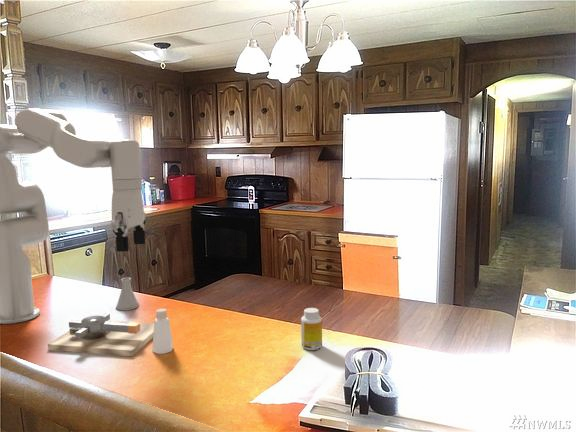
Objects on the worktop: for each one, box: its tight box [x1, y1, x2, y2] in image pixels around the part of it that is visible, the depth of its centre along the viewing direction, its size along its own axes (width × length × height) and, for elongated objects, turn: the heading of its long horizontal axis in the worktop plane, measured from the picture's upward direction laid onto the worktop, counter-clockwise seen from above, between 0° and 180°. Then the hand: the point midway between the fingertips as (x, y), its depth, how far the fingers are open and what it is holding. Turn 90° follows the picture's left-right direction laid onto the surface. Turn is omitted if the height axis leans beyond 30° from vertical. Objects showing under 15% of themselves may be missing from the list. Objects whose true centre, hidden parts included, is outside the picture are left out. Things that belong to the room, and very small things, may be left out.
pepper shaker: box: [152, 308, 174, 355], centre depth 118 cm, size 5×5×11 cm
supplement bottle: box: [300, 307, 323, 351], centre depth 120 cm, size 6×6×10 cm
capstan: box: [68, 313, 141, 339], centre depth 123 cm, size 20×14×4 cm
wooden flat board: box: [47, 320, 154, 357], centre depth 125 cm, size 24×18×3 cm
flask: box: [115, 277, 140, 311], centre depth 150 cm, size 7×7×10 cm
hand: (131, 247), depth 123 cm, fingers open, 9 cm apart
